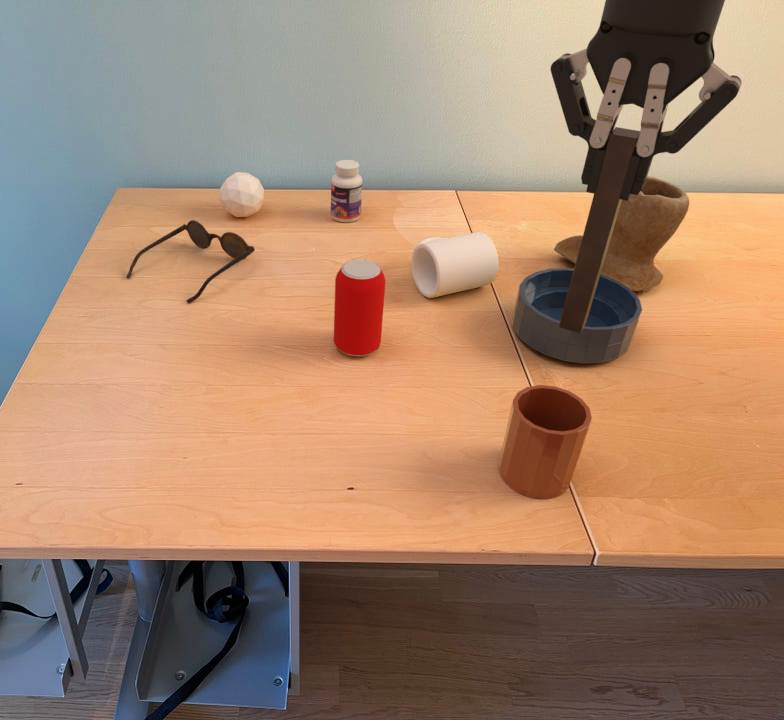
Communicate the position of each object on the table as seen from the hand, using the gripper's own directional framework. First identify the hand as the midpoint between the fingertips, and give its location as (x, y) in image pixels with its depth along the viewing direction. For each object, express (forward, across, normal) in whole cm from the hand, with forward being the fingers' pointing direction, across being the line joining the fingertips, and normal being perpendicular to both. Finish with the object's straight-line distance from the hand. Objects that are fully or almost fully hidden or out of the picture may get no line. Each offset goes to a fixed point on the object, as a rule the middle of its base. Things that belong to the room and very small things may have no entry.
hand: (609, 192), depth 57 cm
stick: (+13, 0, 0) cm, 13 cm away
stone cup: (+31, -2, +47) cm, 57 cm away
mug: (+31, -23, +30) cm, 49 cm away
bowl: (+31, -3, +26) cm, 41 cm away
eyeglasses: (+31, -58, +13) cm, 67 cm away
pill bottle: (+31, -47, +43) cm, 71 cm away
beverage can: (+31, -26, +9) cm, 42 cm away
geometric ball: (+31, -63, +34) cm, 78 cm away
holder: (+31, 0, -2) cm, 31 cm away
